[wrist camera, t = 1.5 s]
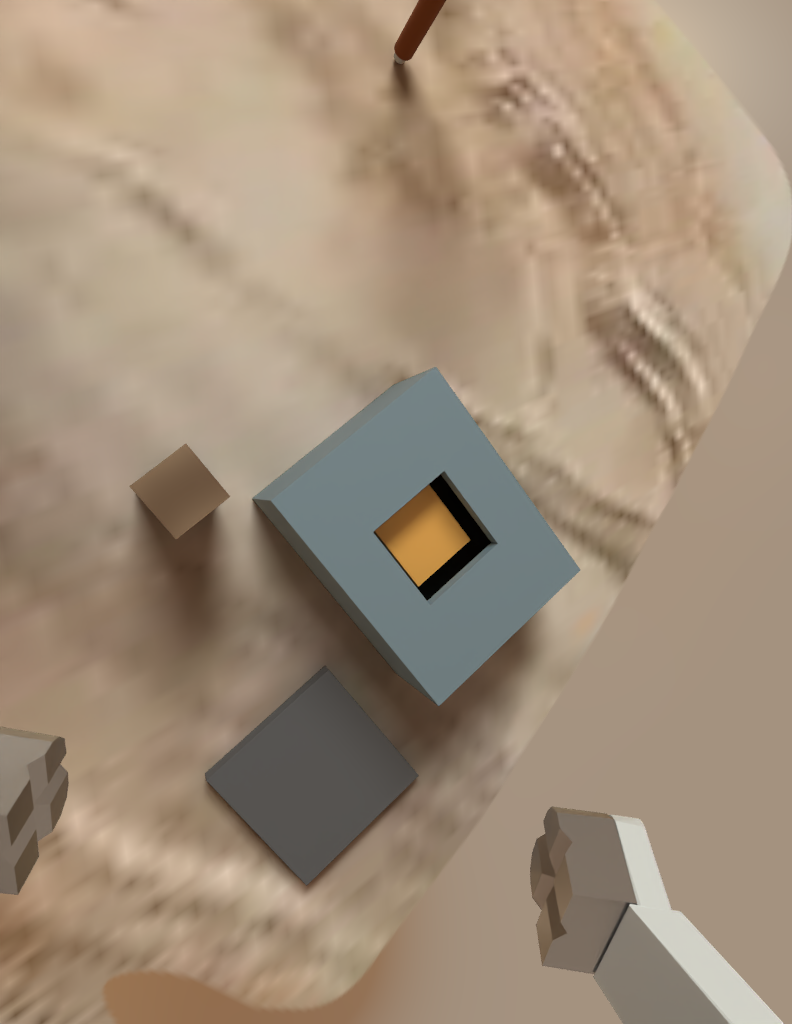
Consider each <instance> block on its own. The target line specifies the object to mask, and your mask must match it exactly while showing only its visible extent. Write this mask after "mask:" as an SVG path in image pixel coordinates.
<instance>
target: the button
mask: <svg viewBox="0 0 792 1024" xmlns="http://www.w3.org/2000/svg"><path fill="white" fill-rule="evenodd" d="M373 533H374V534H375V535H376V537H377V538H378V539H379V540H380V542H381V543H382V544H383V545H384V547H385V548H386V549H387V551H388V552H389V553H390V554H391V556H392V557H393V558H394V559H395V561H396V562H397V563H398V565H399V566H400V567H401V568H402V570H403V571H404V572H405V573H406V575H407V576H408V577H409V579H410V580H411V581H412V582H413V584H414V585H415V586H418V587H419V586H420V585H421V584H422V583H423V582H424V581H425V580H427V579H428V578H429V577H430V576H431V575H432V574H433V573H434V572H435V571H437V570H438V569H439V568H440V567H441V566H442V565H443V564H444V563H445V562H447V561H448V560H449V559H450V558H451V557H452V556H453V555H454V554H455V553H457V552H458V551H459V550H460V549H461V548H462V547H463V546H464V545H465V544H467V543H468V542H469V541H470V539H469V537H468V536H467V535H466V533H465V532H464V531H463V529H462V528H461V527H460V525H459V524H458V522H457V521H456V520H455V518H454V517H453V516H452V514H451V513H450V512H449V510H448V509H447V508H446V506H445V505H444V504H443V502H442V501H441V500H440V498H439V497H438V496H437V494H436V493H435V492H434V490H433V489H432V488H431V486H430V485H429V484H428V485H427V486H426V487H425V488H424V489H422V490H421V491H420V492H419V493H418V494H417V495H416V496H414V497H413V498H412V499H411V500H410V501H409V502H407V503H406V504H405V505H404V506H403V507H402V508H400V509H399V510H398V511H397V512H396V513H395V514H393V515H392V516H391V517H390V518H389V519H388V520H386V521H385V522H384V523H383V524H382V525H381V526H379V527H378V528H377V529H376V530H375V531H374V532H373Z"/></svg>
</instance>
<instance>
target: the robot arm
mask: <svg viewBox="0 0 792 1024" xmlns="http://www.w3.org/2000/svg"><path fill="white" fill-rule="evenodd" d="M65 754H66V747H65V739H64V738H62V737H58V736H53V735H47V734H41V733H35V732H29V731H23V730H17V729H12V728H6V727H0V893H5V894H14V895H18V894H19V892H20V890H21V888H22V886H23V885H24V883H25V881H26V879H27V877H28V875H29V874H30V872H31V870H32V868H33V866H34V865H35V863H36V861H37V859H38V857H39V852H38V842H37V841H39V840H40V839H42V838H44V837H45V836H47V835H48V834H50V833H51V832H52V831H53V829H54V827H55V826H56V824H57V822H58V820H59V818H60V816H61V813H62V810H63V807H64V804H65V801H66V798H67V791H68V772H67V771H66V770H65V769H64V768H63V767H62V765H61V764H60V763H61V761H62V760H63V758H64V756H65ZM544 827H545V834H544V835H542V836H541V837H539V838H538V839H537V840H536V843H535V846H534V849H533V852H532V859H531V867H530V879H531V890H532V898H533V899H534V901H535V902H536V903H537V905H538V906H539V907H540V909H541V910H542V911H541V914H540V916H539V919H538V921H537V924H536V927H537V933H538V940H539V948H540V954H541V961H542V966H548V967H554V968H560V969H566V970H572V971H578V972H584V973H591V974H594V976H593V977H594V979H595V980H596V982H597V983H598V985H599V987H600V988H601V990H602V991H603V993H604V994H605V996H606V997H607V999H608V1001H609V1002H610V1004H611V1005H612V1007H613V1008H614V1010H615V1012H616V1013H617V1015H618V1016H619V1018H620V1019H621V1021H622V1022H623V1024H784V1023H783V1022H782V1021H781V1020H780V1019H779V1018H778V1017H777V1016H776V1015H775V1013H774V1012H773V1011H772V1010H771V1009H770V1008H769V1007H768V1006H767V1005H766V1004H765V1003H764V1002H763V1001H762V999H760V997H759V996H758V995H757V994H756V993H755V992H754V991H753V990H752V988H751V987H750V986H749V985H748V984H747V983H746V982H745V981H744V980H743V979H742V978H741V977H740V975H739V974H738V973H737V972H736V971H735V970H734V969H733V968H732V967H731V966H730V965H729V963H728V962H726V960H725V959H724V958H723V957H722V956H721V955H720V954H719V953H718V952H717V951H716V949H715V948H714V947H713V946H712V945H711V944H710V943H709V942H708V941H707V940H706V938H705V937H704V936H703V935H702V934H701V933H700V932H699V931H698V930H697V929H696V928H695V927H694V925H693V924H692V923H691V922H690V921H689V920H688V919H687V918H686V917H685V916H684V915H683V913H682V912H681V911H675V910H672V909H671V906H670V903H669V900H668V897H667V894H666V891H665V888H664V885H663V881H662V879H661V875H660V872H659V869H658V866H657V863H656V860H655V857H654V854H653V851H652V848H651V845H650V842H649V838H648V835H647V832H646V829H645V826H644V824H643V823H642V821H641V820H640V819H638V818H630V817H624V816H617V815H608V814H605V813H597V812H589V811H582V810H575V809H567V808H559V807H551V808H550V809H549V810H548V811H547V814H546V816H545V819H544Z"/></svg>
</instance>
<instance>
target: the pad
mask: <svg viewBox="0 0 792 1024" xmlns="http://www.w3.org/2000/svg"><path fill="white" fill-rule="evenodd" d="M205 776H206V781H207V782H208V783H209V784H210V785H211V786H212V787H213V788H214V789H215V790H216V791H217V792H218V793H219V794H220V795H221V796H222V797H223V798H224V799H225V801H226V802H227V803H228V804H229V805H230V806H231V807H232V808H233V809H234V810H235V811H236V812H237V813H238V814H239V815H240V816H241V817H242V818H243V819H244V820H245V822H246V823H247V824H248V825H249V826H250V827H251V828H252V829H253V830H254V831H255V832H256V833H257V834H258V835H259V836H260V837H261V838H262V839H263V840H264V841H265V843H266V844H267V845H268V846H269V847H270V848H271V849H272V850H273V851H274V852H275V853H276V854H277V855H278V856H279V857H280V858H281V859H282V860H283V861H284V862H285V864H286V865H287V866H288V867H289V868H290V869H291V870H292V871H293V872H294V873H295V874H296V875H297V876H298V877H299V878H300V879H301V880H302V881H303V882H304V883H305V885H306V886H307V885H308V884H309V883H310V882H311V881H312V880H313V879H314V878H315V877H316V876H317V875H318V874H319V873H320V872H321V871H322V870H323V869H324V868H325V867H326V866H327V865H328V864H329V863H330V862H331V861H332V860H333V859H334V858H335V857H336V856H337V855H338V854H339V853H340V852H341V851H342V850H343V849H344V848H345V847H346V846H348V845H349V844H350V843H351V842H352V841H353V840H354V839H355V838H356V837H357V836H358V835H359V834H360V833H361V832H362V831H363V830H364V829H365V828H366V827H367V826H368V825H369V824H370V823H371V822H372V821H373V820H374V819H375V818H376V817H377V816H378V815H379V814H380V813H381V812H382V811H383V810H384V809H385V808H386V807H387V806H388V805H389V804H390V803H391V802H392V801H393V800H394V799H395V798H396V797H397V796H398V795H399V794H400V793H401V792H402V791H403V790H404V789H405V788H407V787H408V786H409V785H410V784H411V783H412V782H413V781H414V780H415V779H416V778H417V777H418V776H419V775H418V774H417V773H416V772H415V770H414V769H413V768H412V767H411V766H410V765H409V763H408V762H407V761H406V760H405V759H404V758H403V756H402V755H401V754H400V753H399V752H398V751H397V749H396V748H395V747H394V746H393V745H392V743H391V742H390V741H389V740H388V739H387V738H386V736H385V735H384V734H383V733H382V732H381V731H380V729H379V728H378V727H377V726H376V725H375V724H374V722H373V721H372V720H371V719H370V718H369V717H368V715H367V714H366V713H365V712H364V711H363V709H362V708H361V707H360V706H359V705H358V704H357V702H356V701H355V700H354V699H353V698H352V697H351V695H350V694H349V693H348V692H347V691H346V690H345V688H344V687H343V686H342V685H341V684H340V683H339V681H338V680H337V679H336V678H335V677H334V675H333V674H332V673H331V672H330V671H329V670H328V669H327V668H326V666H324V667H323V668H322V669H321V670H320V671H319V672H318V673H316V674H315V675H314V676H313V677H312V678H311V679H310V680H309V681H308V682H306V683H305V684H304V685H303V686H302V687H301V688H300V689H299V690H298V691H296V692H295V693H294V694H293V695H292V696H291V697H290V698H289V699H287V700H286V701H285V702H284V703H283V704H282V705H281V706H280V707H279V708H277V709H276V710H275V711H274V712H273V713H272V714H271V715H270V716H269V717H267V718H266V719H265V720H264V721H263V722H262V723H261V724H260V725H259V726H257V727H256V728H255V729H254V730H253V731H252V732H251V733H250V734H249V735H247V736H246V737H245V738H244V739H243V740H242V741H241V742H240V743H239V744H237V745H236V746H235V747H234V748H233V749H232V750H231V751H230V752H229V753H227V754H226V755H225V756H224V757H223V758H222V759H221V760H220V761H219V762H217V763H216V764H215V765H214V766H213V767H212V768H211V769H210V770H209V771H207V772H206V773H205Z"/></svg>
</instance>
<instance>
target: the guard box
mask: <svg viewBox="0 0 792 1024" xmlns="http://www.w3.org/2000/svg"><path fill="white" fill-rule="evenodd" d="M440 474H441V475H442V477H443V478H444V479H445V481H446V482H447V483H448V485H449V486H450V487H451V489H452V490H453V491H454V493H455V494H456V495H457V497H458V498H459V499H460V501H461V502H462V504H463V505H464V506H465V508H466V509H467V510H468V512H469V513H470V514H471V516H472V517H473V518H474V520H475V521H476V522H477V524H478V525H479V527H480V528H481V529H482V531H483V532H484V533H485V535H486V536H487V537H488V539H489V540H490V541H491V543H490V544H489V545H488V546H487V547H486V548H485V549H484V550H483V551H481V552H480V553H479V554H478V555H477V556H476V557H475V558H474V559H473V560H472V561H470V562H469V563H468V564H467V565H466V566H465V567H464V568H463V569H462V570H461V571H459V572H458V573H457V574H456V575H455V576H454V577H453V578H452V579H451V580H450V581H448V582H447V583H446V584H445V585H444V586H443V587H442V588H441V589H440V590H439V591H438V592H436V593H435V594H434V595H433V596H432V597H431V598H430V599H429V600H428V601H427V600H426V599H425V598H424V596H423V595H422V594H421V593H420V591H419V590H418V589H417V587H416V586H415V585H414V584H413V582H412V581H411V580H410V579H409V577H408V576H407V575H406V573H405V572H404V571H403V570H402V568H401V567H400V566H399V565H398V563H397V562H396V561H395V559H394V558H393V557H392V556H391V554H390V553H389V552H388V551H387V549H386V548H385V547H384V545H383V544H382V543H381V542H380V540H379V539H378V538H377V537H376V535H375V534H374V533H373V532H374V531H375V530H376V529H377V528H378V527H379V526H381V525H382V524H383V523H384V522H385V521H386V520H388V519H389V518H390V517H391V516H392V515H393V514H395V513H396V512H397V511H398V510H399V509H400V508H402V507H403V506H404V505H405V504H406V503H407V502H409V501H410V500H411V499H412V498H413V497H414V496H416V495H417V494H418V493H419V492H420V491H421V490H422V489H424V488H425V487H426V486H427V485H428V484H429V483H431V482H432V481H433V480H434V479H435V478H436V477H438V476H439V475H440ZM252 499H253V500H254V501H255V503H256V504H257V505H258V506H259V507H260V509H261V510H262V511H263V512H264V514H265V515H266V516H267V517H268V518H269V520H270V521H271V522H272V523H273V524H274V526H275V527H276V528H277V529H278V530H279V532H280V533H281V534H282V535H283V537H284V538H285V539H286V540H287V541H288V543H289V544H290V545H291V546H292V547H293V549H294V550H295V551H296V552H297V554H298V555H299V556H300V557H301V558H302V560H303V561H304V562H305V563H306V564H307V566H308V567H309V568H310V569H311V571H312V572H313V573H314V574H315V575H316V577H317V578H318V579H319V580H320V581H321V583H322V584H323V585H324V586H325V588H326V589H327V590H328V591H329V592H330V594H331V595H332V596H333V597H334V598H335V600H336V601H337V602H338V603H339V604H340V606H341V607H342V608H343V609H344V611H345V612H346V613H347V614H348V615H349V617H350V618H351V619H352V620H353V621H354V623H355V624H356V625H357V626H358V628H359V629H360V630H361V631H362V632H363V634H364V635H365V636H366V637H367V638H368V640H369V641H370V642H371V643H372V645H373V646H374V647H375V648H376V649H377V651H378V652H379V653H380V654H381V655H382V657H383V658H384V659H385V660H386V661H387V663H388V664H389V665H390V666H391V668H392V669H393V670H394V671H395V672H396V674H398V675H399V676H400V677H402V678H403V679H404V680H405V681H407V682H408V683H409V684H411V685H412V686H413V687H415V688H416V689H417V690H418V691H420V692H421V693H422V694H424V695H425V696H426V697H427V698H429V699H430V700H431V701H433V702H434V703H435V704H437V705H438V706H440V705H441V704H442V703H443V702H444V701H445V700H446V699H447V698H448V697H449V696H450V695H451V694H452V693H453V692H454V691H455V690H456V689H457V688H458V687H459V686H460V685H461V684H463V683H464V682H465V681H466V680H467V679H468V678H469V677H470V676H471V675H472V674H473V673H474V672H475V671H476V670H477V669H478V668H479V667H480V666H481V665H482V664H483V663H484V662H485V661H486V660H487V659H489V658H490V657H491V656H492V655H493V654H494V653H495V652H496V651H497V650H498V649H499V648H500V647H501V646H502V645H503V644H504V643H505V642H506V641H507V640H508V639H509V638H510V637H511V636H512V635H513V634H515V633H516V632H517V631H518V630H519V629H520V628H521V627H522V626H523V625H524V624H525V623H526V622H527V621H528V620H529V619H530V618H531V617H532V616H533V615H534V614H535V613H536V612H537V611H538V610H539V609H541V608H542V607H543V606H544V605H545V604H546V603H547V602H548V601H549V600H550V599H551V598H552V597H553V596H554V595H555V594H556V593H557V592H558V591H559V590H560V589H561V588H562V587H563V586H564V585H566V584H567V583H568V582H569V581H570V580H571V579H572V578H573V577H574V576H575V575H576V574H577V573H578V572H579V571H580V569H579V567H578V566H577V564H576V563H575V562H574V560H573V559H572V557H571V556H570V555H569V553H568V552H567V550H566V549H565V548H564V546H563V545H562V543H561V542H560V541H559V539H558V538H557V536H556V535H555V534H554V532H553V531H552V529H551V528H550V527H549V525H548V524H547V522H546V521H545V519H544V518H543V517H542V515H541V514H540V512H539V511H538V510H537V508H536V507H535V505H534V504H533V503H532V501H531V500H530V498H529V497H528V496H527V494H526V493H525V491H524V490H523V489H522V487H521V486H520V484H519V483H518V482H517V480H516V479H515V477H514V476H513V474H512V473H511V472H510V470H509V469H508V467H507V466H506V465H505V463H504V462H503V460H502V459H501V458H500V456H499V455H498V453H497V452H496V451H495V449H494V448H493V446H492V445H491V444H490V442H489V441H488V439H487V438H486V437H485V435H484V434H483V432H482V431H481V429H480V428H479V427H478V425H477V424H476V422H475V421H474V420H473V418H472V417H471V415H470V414H469V413H468V411H467V410H466V408H465V407H464V406H463V404H462V403H461V401H460V400H459V399H458V397H457V396H456V394H455V393H454V392H453V390H452V389H451V387H450V386H449V385H448V383H447V382H446V380H445V379H444V377H443V376H442V375H441V373H440V372H439V370H438V369H437V368H436V367H434V368H432V369H429V370H427V371H425V372H422V373H420V374H418V375H415V376H413V377H411V378H408V379H406V380H404V381H401V382H399V383H397V384H394V385H393V386H391V387H390V388H389V389H388V390H386V391H385V392H384V393H383V394H381V395H380V396H379V397H378V398H376V399H375V400H374V401H373V402H372V403H370V404H369V405H368V406H367V407H365V408H364V409H363V410H362V411H360V412H359V413H358V414H357V415H355V416H354V417H353V418H352V419H350V420H349V421H348V422H347V423H345V424H344V425H343V426H342V427H340V428H339V429H338V430H337V431H335V432H334V433H333V434H332V435H331V436H329V437H328V438H327V439H326V440H324V441H323V442H322V443H321V444H319V445H318V446H317V447H316V448H314V449H313V450H312V451H311V452H309V453H308V454H307V455H306V456H304V457H303V458H302V459H301V460H299V461H298V462H297V463H296V464H294V465H293V466H292V467H291V468H289V469H288V470H287V471H286V472H285V473H283V474H282V475H281V476H280V477H278V478H277V479H276V480H275V481H273V482H272V483H271V484H270V485H268V486H267V487H266V488H265V489H263V490H262V491H261V492H260V493H258V494H257V495H256V496H255V497H253V498H252Z"/></svg>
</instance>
